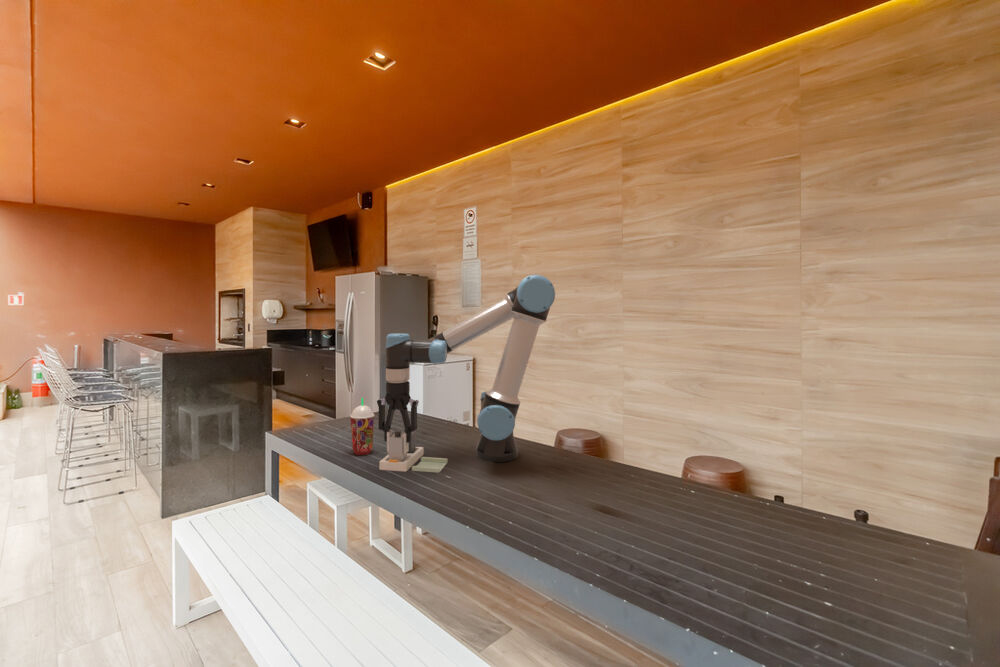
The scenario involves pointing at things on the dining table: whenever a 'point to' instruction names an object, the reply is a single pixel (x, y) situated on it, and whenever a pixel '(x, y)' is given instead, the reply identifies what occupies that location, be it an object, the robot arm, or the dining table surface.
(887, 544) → the dining table surface
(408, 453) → the cream rectangular tray
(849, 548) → the dining table surface
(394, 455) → the plug
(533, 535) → the dining table surface
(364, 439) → the smoothie
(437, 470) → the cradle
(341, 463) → the dining table surface
